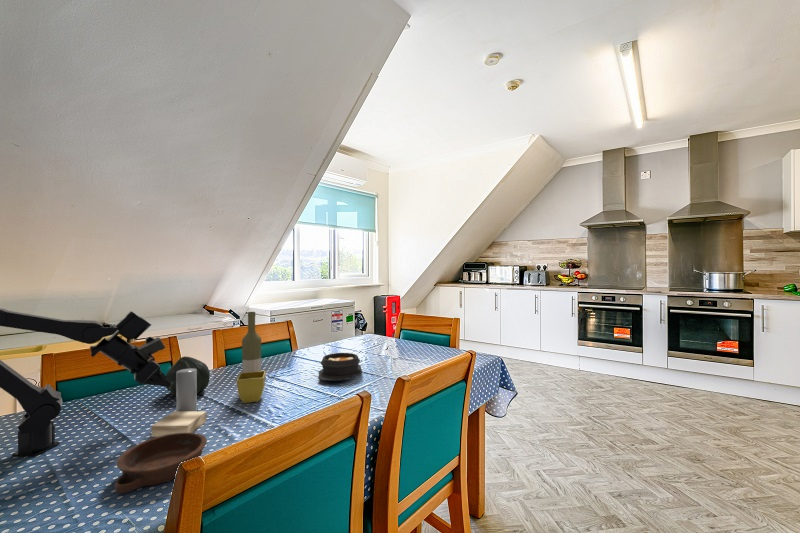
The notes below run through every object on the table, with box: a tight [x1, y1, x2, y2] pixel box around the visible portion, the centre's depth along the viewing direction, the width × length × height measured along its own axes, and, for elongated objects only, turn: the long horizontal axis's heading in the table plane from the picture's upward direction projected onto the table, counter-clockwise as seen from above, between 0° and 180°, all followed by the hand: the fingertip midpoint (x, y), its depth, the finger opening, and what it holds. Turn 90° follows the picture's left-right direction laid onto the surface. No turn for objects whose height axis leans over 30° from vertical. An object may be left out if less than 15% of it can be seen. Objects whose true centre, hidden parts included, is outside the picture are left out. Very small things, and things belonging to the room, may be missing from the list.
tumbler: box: [175, 368, 198, 411], centre depth 116 cm, size 6×6×14 cm
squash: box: [165, 355, 211, 397], centre depth 135 cm, size 14×15×15 cm
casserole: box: [317, 352, 363, 382], centre depth 156 cm, size 25×19×8 cm
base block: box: [150, 410, 207, 438], centre depth 106 cm, size 10×10×3 cm
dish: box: [114, 432, 208, 494], centre depth 85 cm, size 17×22×5 cm
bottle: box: [241, 311, 262, 373], centre depth 138 cm, size 7×7×30 cm
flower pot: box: [236, 370, 266, 404], centre depth 128 cm, size 9×9×9 cm
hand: (167, 381), depth 112 cm, fingers open, 9 cm apart
